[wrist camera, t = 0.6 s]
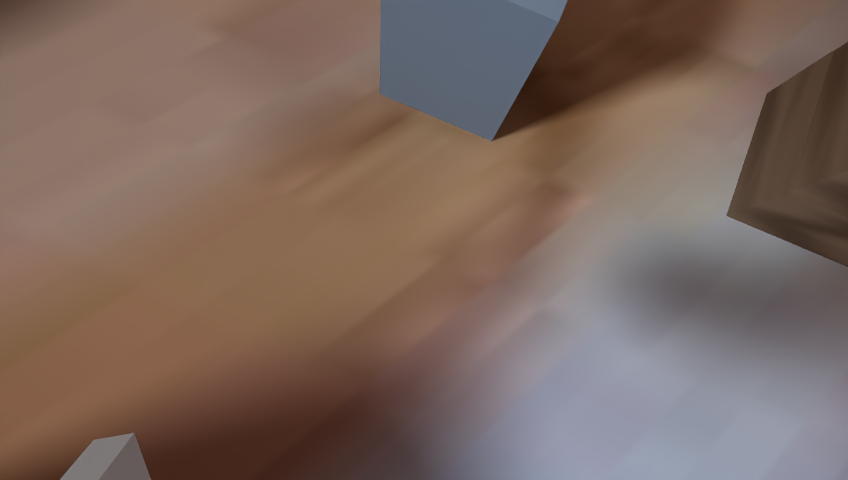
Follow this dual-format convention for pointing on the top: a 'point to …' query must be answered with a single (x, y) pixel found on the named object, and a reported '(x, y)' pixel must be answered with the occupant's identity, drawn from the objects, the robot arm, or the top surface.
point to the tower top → (827, 143)
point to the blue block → (463, 55)
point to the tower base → (787, 171)
